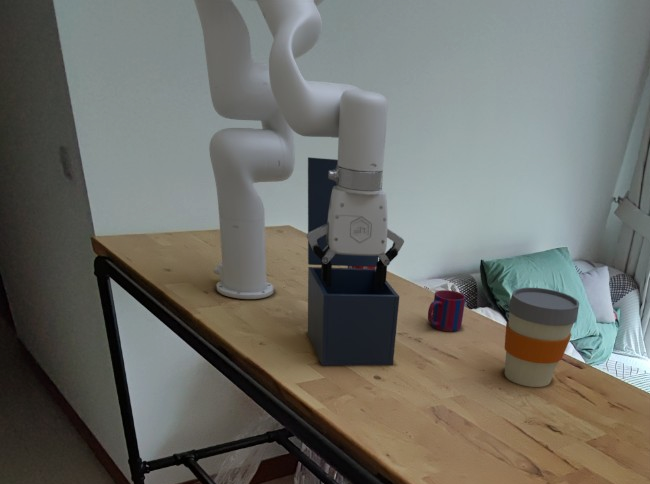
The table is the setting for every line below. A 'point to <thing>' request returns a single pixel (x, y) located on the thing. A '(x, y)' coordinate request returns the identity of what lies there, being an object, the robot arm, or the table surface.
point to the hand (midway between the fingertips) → (353, 285)
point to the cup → (447, 310)
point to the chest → (352, 317)
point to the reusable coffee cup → (537, 334)
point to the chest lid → (326, 212)
